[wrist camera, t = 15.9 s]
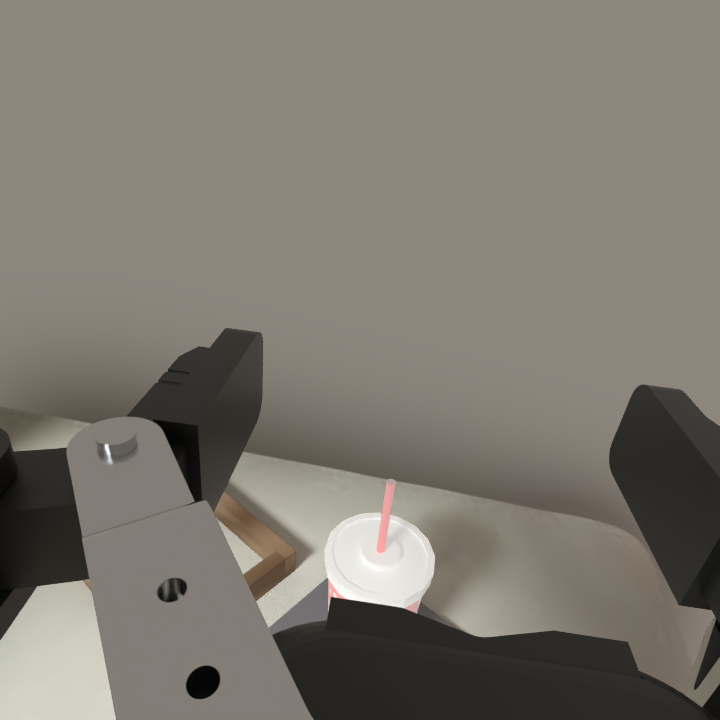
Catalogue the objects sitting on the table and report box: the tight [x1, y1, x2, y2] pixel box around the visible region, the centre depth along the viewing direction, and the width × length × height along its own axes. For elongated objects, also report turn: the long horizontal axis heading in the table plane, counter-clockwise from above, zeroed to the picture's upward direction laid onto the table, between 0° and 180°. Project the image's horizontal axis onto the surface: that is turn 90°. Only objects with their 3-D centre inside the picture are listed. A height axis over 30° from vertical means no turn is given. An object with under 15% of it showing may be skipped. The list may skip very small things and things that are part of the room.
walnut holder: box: [83, 492, 296, 601], centre depth 37 cm, size 11×11×2 cm
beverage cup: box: [324, 479, 435, 613], centre depth 29 cm, size 6×6×14 cm
